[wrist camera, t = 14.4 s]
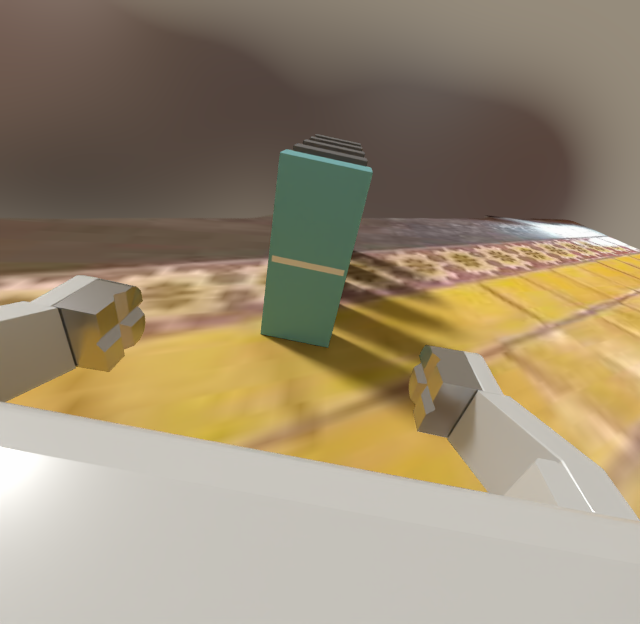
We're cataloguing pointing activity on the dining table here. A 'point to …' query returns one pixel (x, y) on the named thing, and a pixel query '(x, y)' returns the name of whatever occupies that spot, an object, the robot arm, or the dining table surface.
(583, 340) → the dining table surface
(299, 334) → the teal domino
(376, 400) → the dining table surface
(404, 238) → the dining table surface
